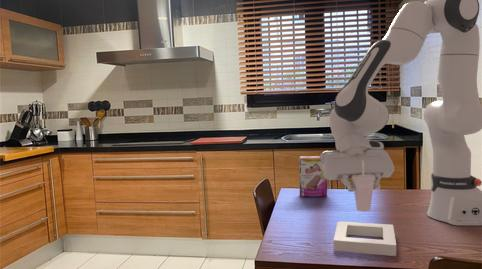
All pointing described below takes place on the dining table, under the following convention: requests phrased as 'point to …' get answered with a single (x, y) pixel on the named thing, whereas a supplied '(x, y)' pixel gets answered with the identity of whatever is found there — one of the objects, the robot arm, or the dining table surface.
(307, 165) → the candy bar box
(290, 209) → the dining table surface
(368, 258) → the dining table surface
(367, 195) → the smoothie
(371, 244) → the beige square frame
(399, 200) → the dining table surface
